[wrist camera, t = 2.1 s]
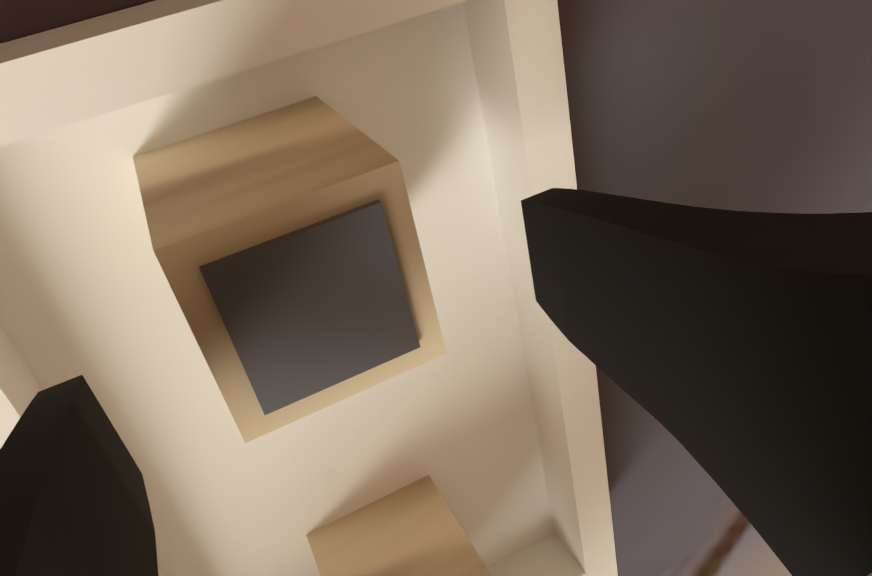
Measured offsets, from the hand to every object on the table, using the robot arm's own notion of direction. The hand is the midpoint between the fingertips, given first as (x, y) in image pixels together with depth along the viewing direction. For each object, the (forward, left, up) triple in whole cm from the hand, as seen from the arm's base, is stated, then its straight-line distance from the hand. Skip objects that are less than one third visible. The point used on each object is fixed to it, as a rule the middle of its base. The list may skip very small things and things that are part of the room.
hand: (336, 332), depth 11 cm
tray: (-6, 0, -7) cm, 9 cm away
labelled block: (0, 0, -6) cm, 6 cm away
